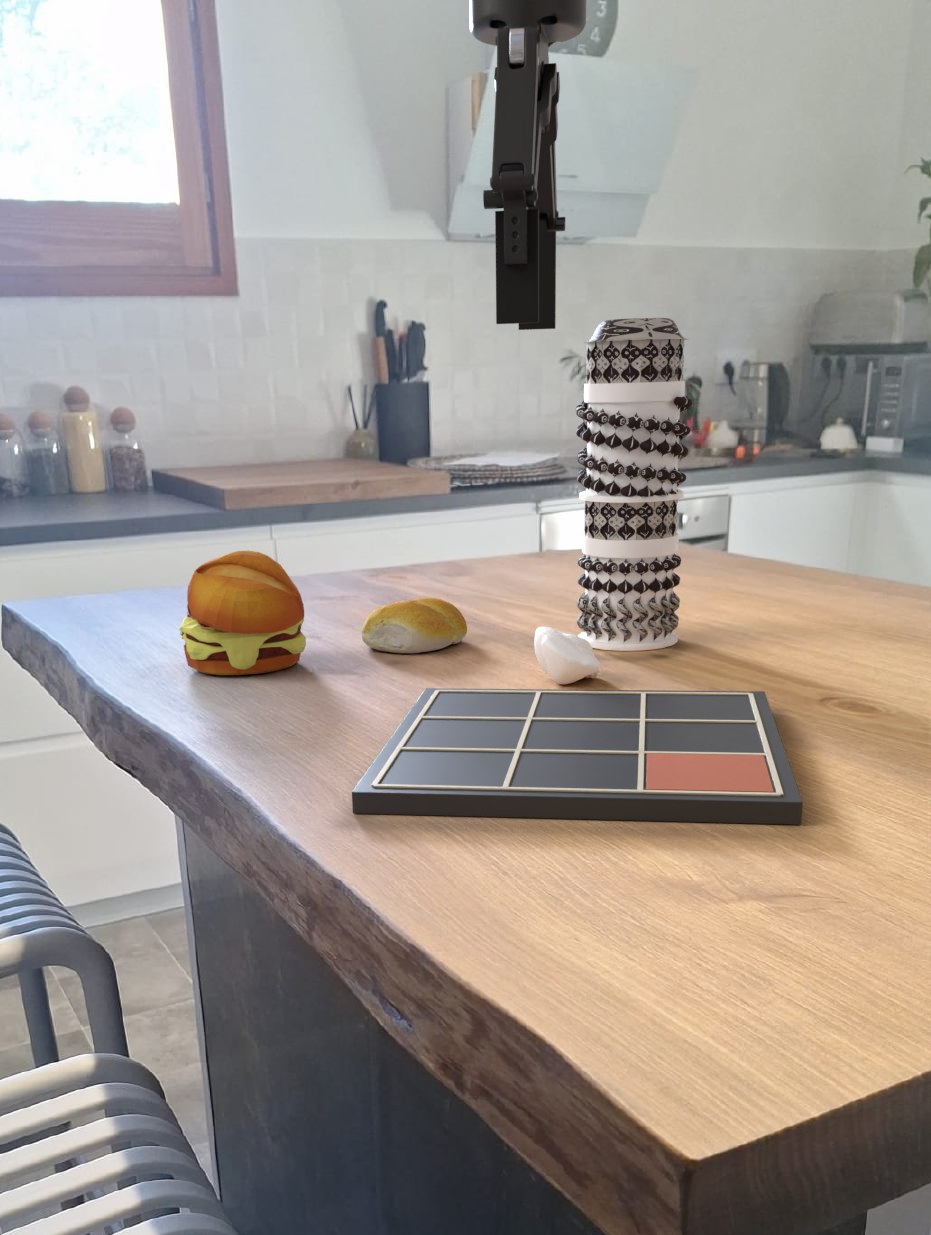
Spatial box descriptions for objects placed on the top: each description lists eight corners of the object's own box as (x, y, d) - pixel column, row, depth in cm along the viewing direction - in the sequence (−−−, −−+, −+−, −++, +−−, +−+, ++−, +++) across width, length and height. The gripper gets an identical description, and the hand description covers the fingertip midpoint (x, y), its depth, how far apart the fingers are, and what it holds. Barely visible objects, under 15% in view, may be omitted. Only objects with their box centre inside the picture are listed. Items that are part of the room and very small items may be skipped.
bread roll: (480, 637, 108) (479, 591, 106) (431, 658, 101) (430, 608, 99) (398, 630, 112) (397, 586, 110) (345, 650, 104) (343, 602, 103)
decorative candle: (631, 625, 111) (640, 322, 101) (705, 641, 103) (721, 316, 94) (551, 639, 106) (552, 322, 97) (622, 656, 99) (630, 316, 90)
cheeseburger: (283, 644, 106) (285, 531, 101) (327, 699, 99) (332, 580, 93) (167, 656, 102) (162, 539, 97) (203, 714, 95) (201, 591, 89)
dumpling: (522, 677, 94) (530, 625, 94) (588, 687, 95) (597, 635, 94) (537, 681, 88) (546, 625, 87) (608, 692, 88) (617, 636, 88)
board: (763, 708, 83) (764, 689, 82) (800, 825, 62) (803, 800, 61) (426, 704, 86) (425, 686, 86) (352, 813, 65) (351, 790, 65)
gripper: (493, 18, 90) (496, 332, 98) (436, -100, 68) (446, 322, 75) (596, 10, 89) (591, 329, 97) (574, -112, 66) (569, 318, 74)
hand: (528, 327), depth 86 cm, fingers open, 13 cm apart
